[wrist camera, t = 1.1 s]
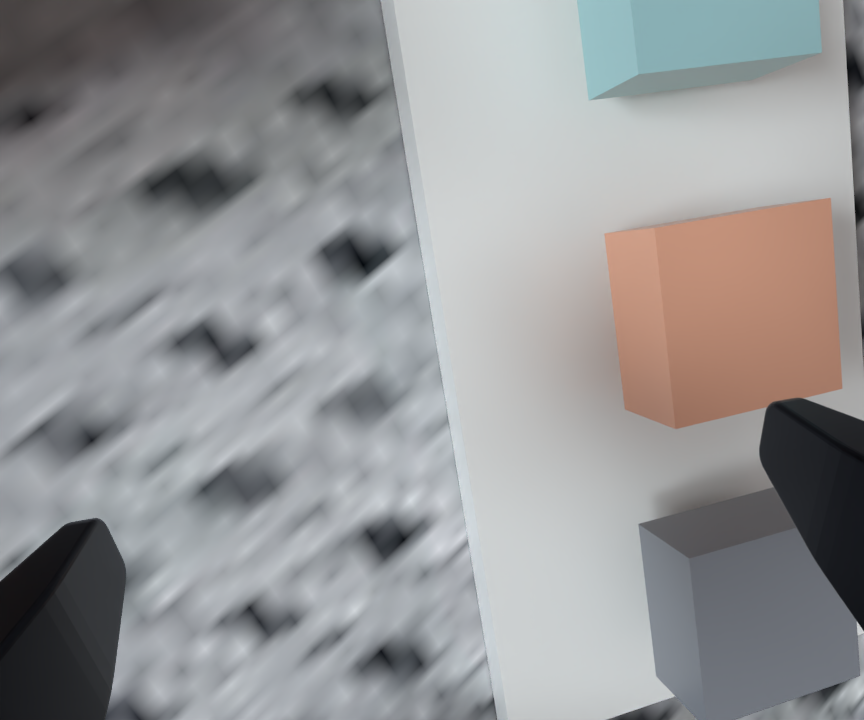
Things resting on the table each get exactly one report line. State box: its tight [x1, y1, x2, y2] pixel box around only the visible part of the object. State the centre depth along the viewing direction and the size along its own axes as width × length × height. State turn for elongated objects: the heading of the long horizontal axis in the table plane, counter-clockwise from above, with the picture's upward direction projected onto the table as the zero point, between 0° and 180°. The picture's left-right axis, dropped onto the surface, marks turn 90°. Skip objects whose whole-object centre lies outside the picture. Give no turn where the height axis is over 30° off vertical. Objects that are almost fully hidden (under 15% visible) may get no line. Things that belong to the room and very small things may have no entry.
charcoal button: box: [638, 487, 860, 720], centre depth 20 cm, size 5×5×2 cm
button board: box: [381, 0, 864, 720], centre depth 22 cm, size 26×14×2 cm, turn 9°
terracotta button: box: [604, 198, 842, 429], centre depth 18 cm, size 5×5×2 cm
